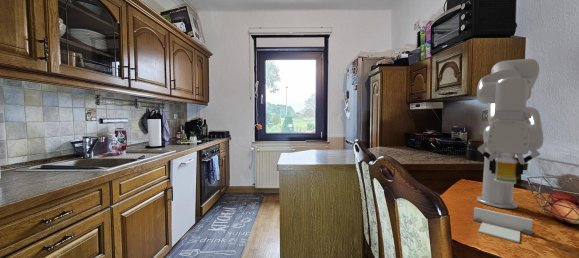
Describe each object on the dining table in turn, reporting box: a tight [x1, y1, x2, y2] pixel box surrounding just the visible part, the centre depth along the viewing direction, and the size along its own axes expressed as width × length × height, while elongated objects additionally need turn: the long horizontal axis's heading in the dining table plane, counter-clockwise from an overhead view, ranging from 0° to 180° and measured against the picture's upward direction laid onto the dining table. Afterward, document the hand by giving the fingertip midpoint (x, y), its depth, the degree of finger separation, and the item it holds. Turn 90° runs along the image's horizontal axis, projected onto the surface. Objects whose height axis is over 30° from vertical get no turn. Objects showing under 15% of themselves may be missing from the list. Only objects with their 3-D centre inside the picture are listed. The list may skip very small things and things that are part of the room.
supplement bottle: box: [494, 152, 519, 185], centre depth 81 cm, size 5×5×10 cm
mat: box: [477, 222, 521, 244], centre depth 75 cm, size 9×9×1 cm
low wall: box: [472, 207, 534, 235], centre depth 80 cm, size 3×14×4 cm, turn 47°
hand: (505, 174), depth 81 cm, fingers closed on supplement bottle, 5 cm apart
